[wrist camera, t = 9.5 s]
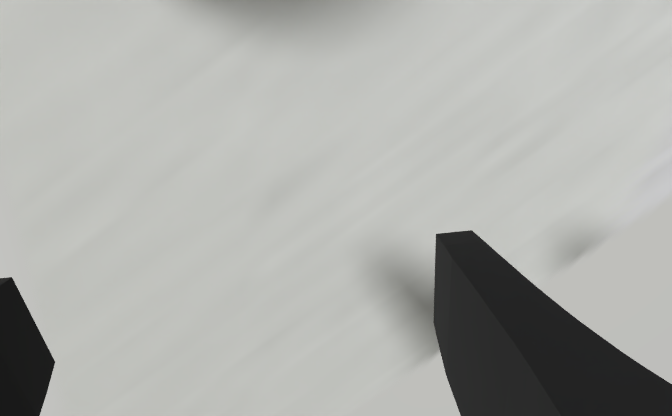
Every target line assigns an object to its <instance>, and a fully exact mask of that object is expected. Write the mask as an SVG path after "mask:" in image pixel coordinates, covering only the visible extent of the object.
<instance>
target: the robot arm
mask: <svg viewBox="0 0 672 416" xmlns="http://www.w3.org/2000/svg"><path fill="white" fill-rule="evenodd" d="M434 326H435V330H436V335H437V339H438V343H439V347H440V352H441V356H442V360H443V363H444V368H445V372H446V375H447V378H448V381H449V384H450V387H451V390H452V392H453V395H454V398H455V400H456V403H457V406H458V409H459V412H460V414H461V416H672V384H670V383H669V382H667V381H665V380H664V379H662V378H661V377H659V376H658V375H656V374H654V373H653V372H651V371H650V370H648V369H646V368H645V367H643V366H642V365H640V364H639V363H637V362H636V361H634V360H633V359H631V358H630V357H628V356H627V355H626V354H624V353H623V352H621V351H620V350H618V349H617V348H615V347H614V346H613V345H611V344H610V343H608V342H607V341H606V340H604V339H603V338H602V337H600V336H599V335H597V334H596V333H595V332H593V331H592V330H591V329H589V328H588V327H587V326H585V325H584V324H582V323H581V322H580V321H578V320H577V319H576V318H575V317H573V316H572V315H570V314H569V313H568V312H567V311H565V310H564V309H563V308H562V307H561V306H559V305H558V304H557V303H556V302H554V301H553V300H552V299H551V298H549V297H548V296H547V295H546V294H544V293H543V292H542V291H541V290H540V289H538V288H537V287H536V286H535V285H534V284H532V283H531V282H530V281H529V280H528V279H527V278H525V277H524V276H523V275H522V274H521V273H520V272H519V271H517V270H516V269H515V268H514V267H513V266H512V265H510V264H509V263H508V262H507V261H506V260H505V259H504V258H502V257H501V256H500V255H499V254H498V253H497V252H496V251H495V250H493V249H492V248H491V247H490V246H489V245H488V244H487V243H486V242H484V241H483V240H482V239H481V238H480V237H479V236H477V235H476V234H475V233H474V232H473V231H472V230H471V231H461V232H451V233H441V234H436V256H435V292H434ZM54 364H55V361H54V359H53V357H52V355H51V353H50V351H49V349H48V347H47V345H46V343H45V341H44V339H43V337H42V336H41V334H40V332H39V330H38V328H37V326H36V324H35V322H34V320H33V318H32V316H31V314H30V312H29V310H28V308H27V306H26V304H25V302H24V300H23V298H22V297H21V295H20V292H19V290H18V288H17V286H16V285H15V283H14V281H13V279H12V277H10V278H0V416H39V415H40V412H41V408H42V406H43V403H44V399H45V396H46V393H47V390H48V386H49V382H50V379H51V375H52V371H53V368H54Z"/></svg>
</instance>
